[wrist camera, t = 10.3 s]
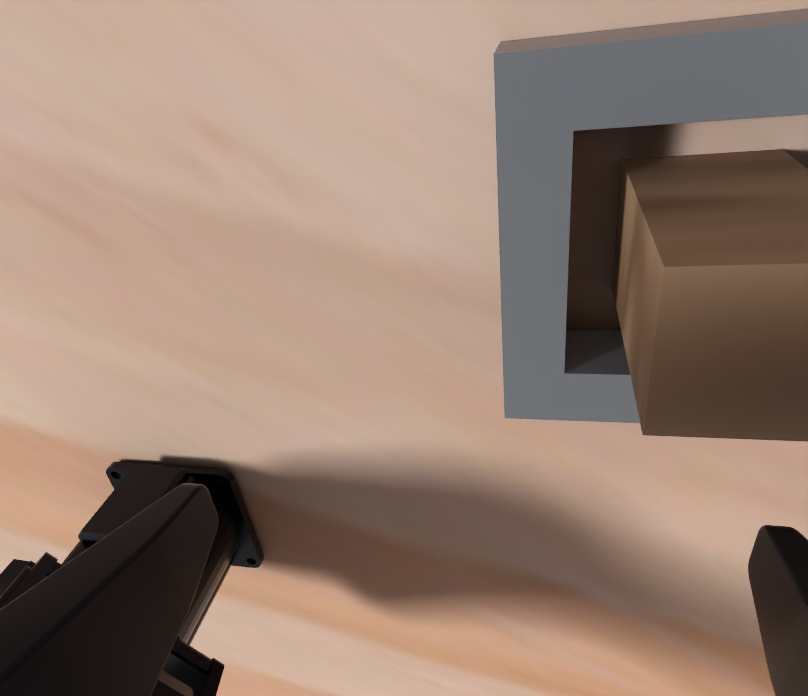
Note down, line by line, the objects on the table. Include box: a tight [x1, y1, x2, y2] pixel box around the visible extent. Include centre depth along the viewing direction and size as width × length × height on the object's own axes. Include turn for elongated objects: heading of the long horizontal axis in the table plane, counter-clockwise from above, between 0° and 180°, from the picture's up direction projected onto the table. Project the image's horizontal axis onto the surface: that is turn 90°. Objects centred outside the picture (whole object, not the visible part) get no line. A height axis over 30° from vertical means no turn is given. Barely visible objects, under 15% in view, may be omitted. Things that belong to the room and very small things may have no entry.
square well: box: [494, 9, 808, 423], centre depth 16 cm, size 11×11×2 cm
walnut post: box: [612, 149, 808, 441], centre depth 14 cm, size 4×4×7 cm
